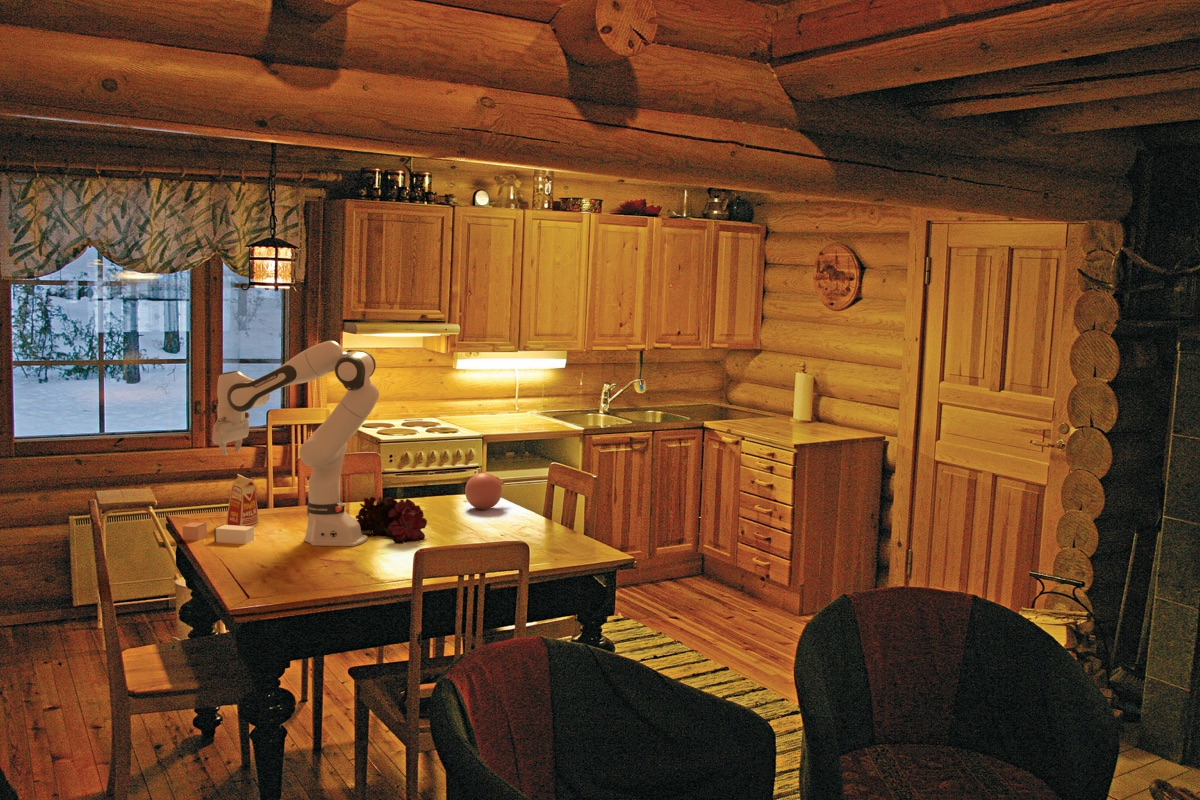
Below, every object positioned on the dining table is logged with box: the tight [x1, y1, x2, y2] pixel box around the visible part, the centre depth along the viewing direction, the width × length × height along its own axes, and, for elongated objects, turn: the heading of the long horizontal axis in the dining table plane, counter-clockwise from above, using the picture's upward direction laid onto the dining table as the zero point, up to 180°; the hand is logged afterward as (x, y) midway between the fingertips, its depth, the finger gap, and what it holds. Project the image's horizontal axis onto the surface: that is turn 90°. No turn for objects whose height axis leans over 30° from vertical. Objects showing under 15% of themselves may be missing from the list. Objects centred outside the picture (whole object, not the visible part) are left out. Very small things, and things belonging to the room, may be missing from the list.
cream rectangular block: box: [213, 523, 255, 545], centre depth 383 cm, size 12×6×5 cm, turn 81°
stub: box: [182, 522, 208, 542], centre depth 385 cm, size 6×6×5 cm
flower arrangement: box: [355, 496, 428, 545], centre depth 400 cm, size 31×20×15 cm, turn 56°
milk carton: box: [225, 473, 260, 528], centre depth 407 cm, size 9×9×20 cm
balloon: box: [464, 472, 505, 511], centre depth 450 cm, size 15×20×15 cm
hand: (231, 453), depth 389 cm, fingers open, 8 cm apart
